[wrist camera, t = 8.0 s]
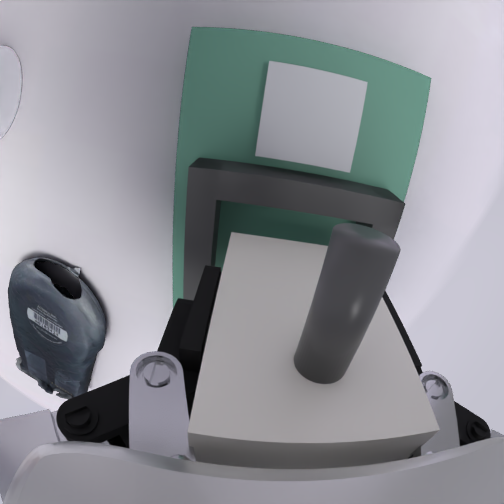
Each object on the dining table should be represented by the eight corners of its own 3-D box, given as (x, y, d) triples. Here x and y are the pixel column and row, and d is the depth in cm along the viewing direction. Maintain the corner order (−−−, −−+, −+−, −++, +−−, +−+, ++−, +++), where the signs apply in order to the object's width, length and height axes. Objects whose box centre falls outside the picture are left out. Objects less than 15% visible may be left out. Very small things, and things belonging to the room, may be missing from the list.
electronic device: (106, 378, 26) (120, 292, 18) (82, 419, 22) (73, 353, 13) (39, 330, 26) (27, 226, 17) (12, 364, 21) (-25, 266, 13)
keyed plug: (241, 153, 10) (182, 290, 3) (377, 178, 10) (527, 319, 3) (220, 329, 14) (193, 496, 7) (324, 341, 14) (350, 499, 7)
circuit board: (199, 33, 11) (180, 15, 8) (417, 79, 11) (454, 77, 8) (180, 349, 21) (169, 386, 18) (327, 366, 21) (333, 403, 18)
